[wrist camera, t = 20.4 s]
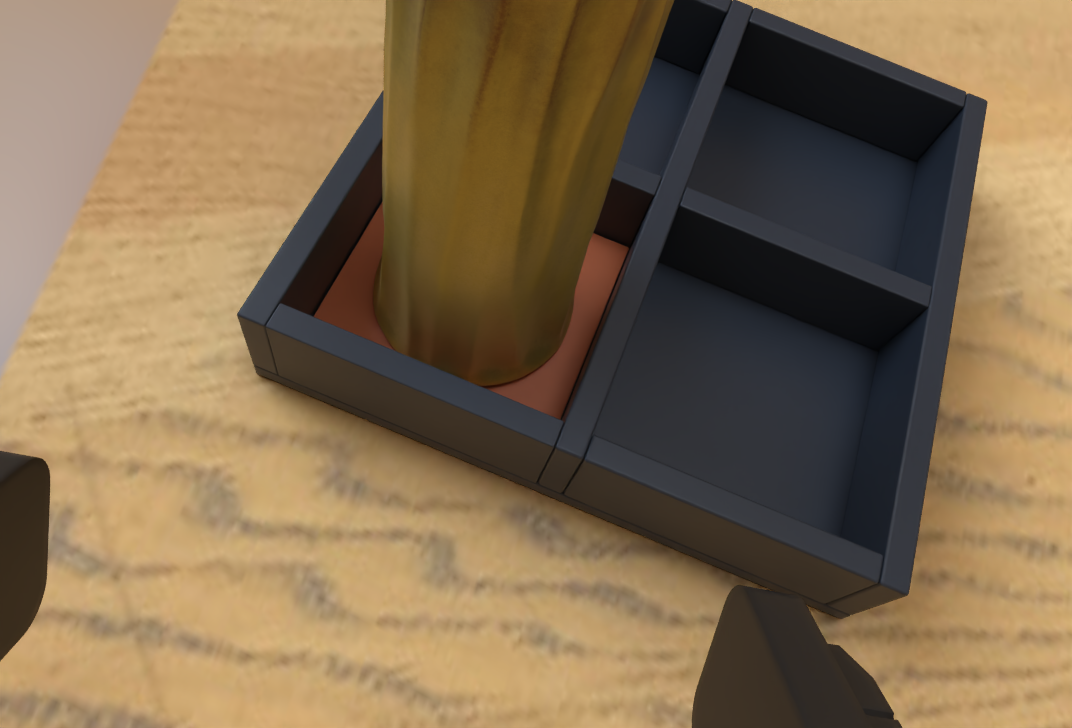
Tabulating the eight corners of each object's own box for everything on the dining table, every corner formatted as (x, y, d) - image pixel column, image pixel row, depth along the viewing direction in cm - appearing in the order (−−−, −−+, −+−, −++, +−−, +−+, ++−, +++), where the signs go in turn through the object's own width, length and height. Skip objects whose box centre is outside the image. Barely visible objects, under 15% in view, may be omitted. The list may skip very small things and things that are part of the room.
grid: (255, 373, 25) (235, 314, 22) (492, -11, 33) (503, -95, 30) (841, 620, 24) (909, 596, 21) (930, 166, 33) (989, 99, 29)
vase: (574, 230, 28) (729, -228, 15) (568, 400, 25) (750, 17, 12) (387, 205, 27) (384, -298, 14) (359, 378, 24) (326, -54, 12)
